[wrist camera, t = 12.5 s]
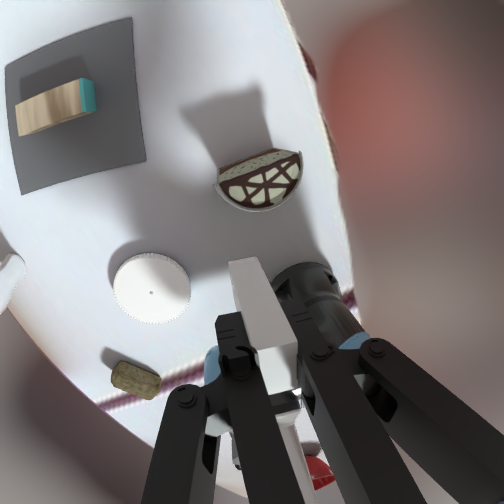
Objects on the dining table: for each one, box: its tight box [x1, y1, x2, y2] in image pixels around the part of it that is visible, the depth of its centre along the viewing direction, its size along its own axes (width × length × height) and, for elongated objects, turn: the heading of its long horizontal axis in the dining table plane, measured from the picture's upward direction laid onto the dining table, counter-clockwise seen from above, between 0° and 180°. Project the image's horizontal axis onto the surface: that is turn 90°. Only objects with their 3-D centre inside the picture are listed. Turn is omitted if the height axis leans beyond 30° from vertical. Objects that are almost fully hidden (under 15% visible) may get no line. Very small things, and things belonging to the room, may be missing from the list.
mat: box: [5, 17, 146, 195], centre depth 33 cm, size 24×24×1 cm
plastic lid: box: [113, 253, 191, 324], centre depth 49 cm, size 14×14×2 cm
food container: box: [213, 148, 303, 212], centre depth 40 cm, size 12×6×10 cm, turn 109°
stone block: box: [111, 361, 161, 400], centre depth 57 cm, size 6×12×5 cm, turn 51°
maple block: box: [15, 78, 97, 136], centre depth 30 cm, size 5×5×12 cm
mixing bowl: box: [304, 456, 335, 490], centre depth 97 cm, size 28×28×15 cm
